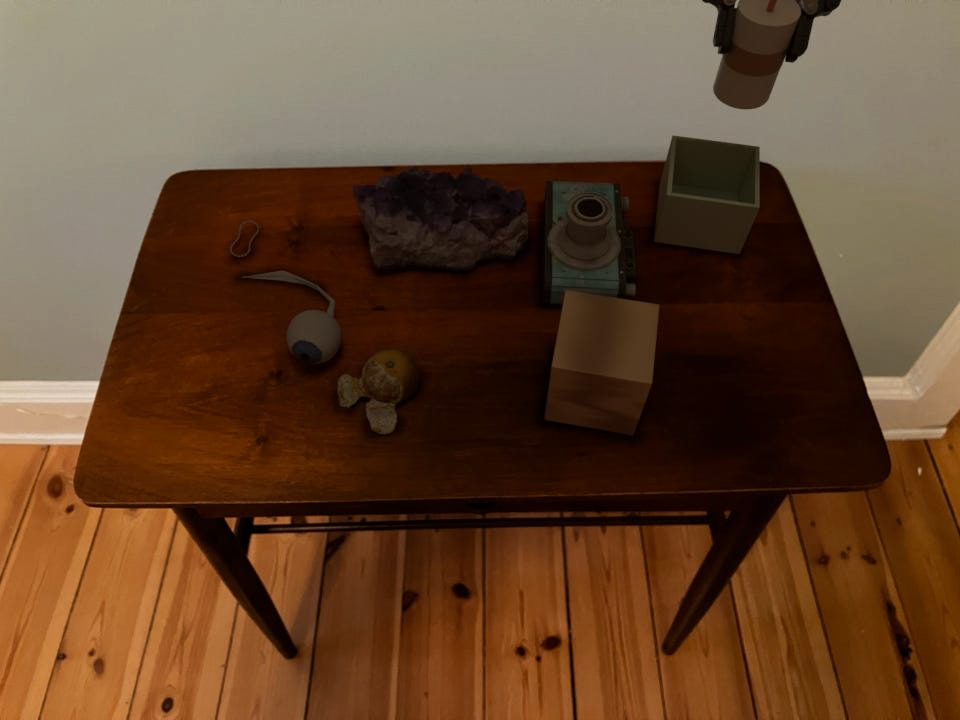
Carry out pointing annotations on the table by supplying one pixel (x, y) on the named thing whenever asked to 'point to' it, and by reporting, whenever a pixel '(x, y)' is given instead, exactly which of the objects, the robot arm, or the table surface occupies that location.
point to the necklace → (250, 240)
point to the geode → (441, 220)
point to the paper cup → (755, 51)
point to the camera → (587, 241)
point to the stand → (602, 362)
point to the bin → (708, 194)
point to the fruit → (381, 387)
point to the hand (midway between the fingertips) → (757, 56)
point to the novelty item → (310, 325)
